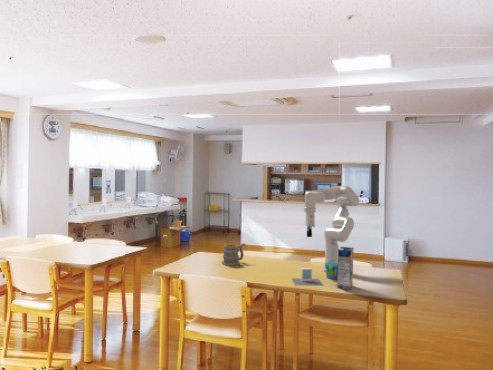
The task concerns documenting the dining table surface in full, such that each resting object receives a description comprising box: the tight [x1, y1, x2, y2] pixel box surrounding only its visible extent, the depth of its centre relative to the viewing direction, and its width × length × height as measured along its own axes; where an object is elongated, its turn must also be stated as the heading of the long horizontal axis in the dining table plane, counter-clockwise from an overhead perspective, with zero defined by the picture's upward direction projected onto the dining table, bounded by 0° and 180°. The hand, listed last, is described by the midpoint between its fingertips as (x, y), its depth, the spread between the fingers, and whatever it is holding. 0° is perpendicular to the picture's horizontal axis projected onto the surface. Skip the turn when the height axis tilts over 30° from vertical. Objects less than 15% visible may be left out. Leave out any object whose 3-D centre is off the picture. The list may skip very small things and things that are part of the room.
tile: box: [300, 267, 313, 281], centre depth 258 cm, size 7×2×8 cm, turn 91°
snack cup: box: [324, 262, 338, 280], centre depth 268 cm, size 16×10×10 cm
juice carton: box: [336, 246, 354, 291], centre depth 247 cm, size 12×8×24 cm, turn 158°
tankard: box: [221, 243, 247, 266], centre depth 310 cm, size 20×13×15 cm, turn 120°
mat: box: [291, 277, 325, 287], centre depth 256 cm, size 18×17×1 cm
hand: (309, 236), depth 273 cm, fingers closed
